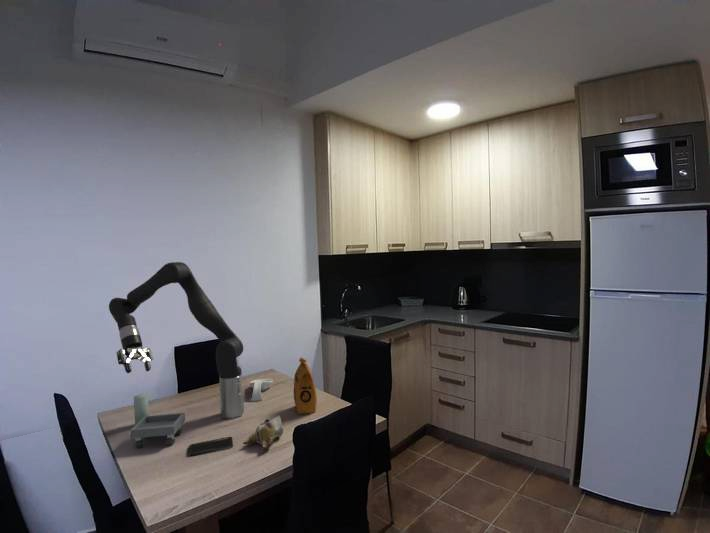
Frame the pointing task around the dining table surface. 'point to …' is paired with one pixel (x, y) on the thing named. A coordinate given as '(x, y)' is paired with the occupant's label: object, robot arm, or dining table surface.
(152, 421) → the tray
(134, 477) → the dining table surface
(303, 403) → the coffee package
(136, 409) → the pale green cylinder
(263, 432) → the ceramic sculpture
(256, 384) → the white t-shaped piece
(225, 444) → the phone
